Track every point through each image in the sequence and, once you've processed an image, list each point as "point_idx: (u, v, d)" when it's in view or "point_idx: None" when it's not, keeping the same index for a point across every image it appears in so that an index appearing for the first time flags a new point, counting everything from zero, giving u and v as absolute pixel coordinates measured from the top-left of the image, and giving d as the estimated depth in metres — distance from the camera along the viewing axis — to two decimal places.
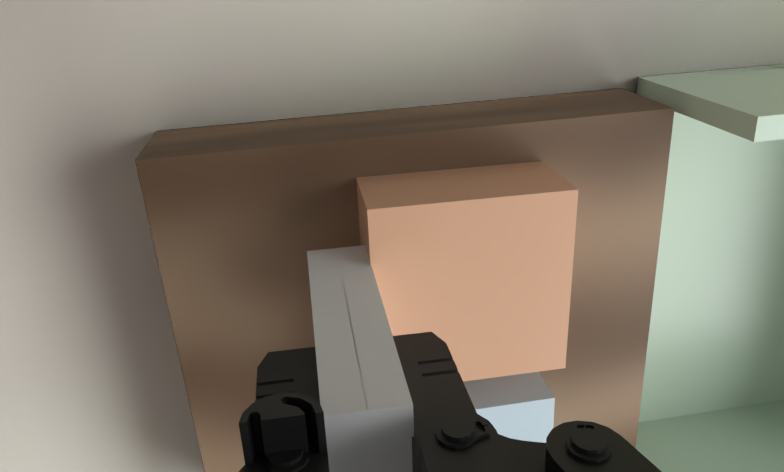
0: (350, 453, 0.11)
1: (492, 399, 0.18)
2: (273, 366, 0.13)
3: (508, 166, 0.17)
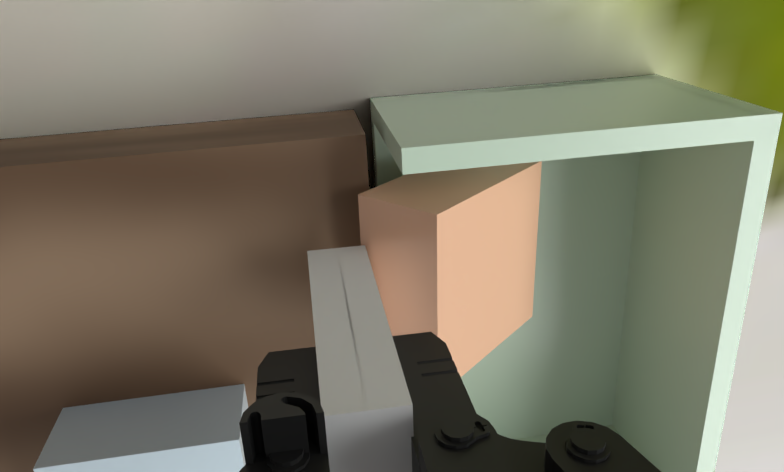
0: (350, 453, 0.11)
1: (174, 441, 0.17)
2: (273, 366, 0.13)
3: None
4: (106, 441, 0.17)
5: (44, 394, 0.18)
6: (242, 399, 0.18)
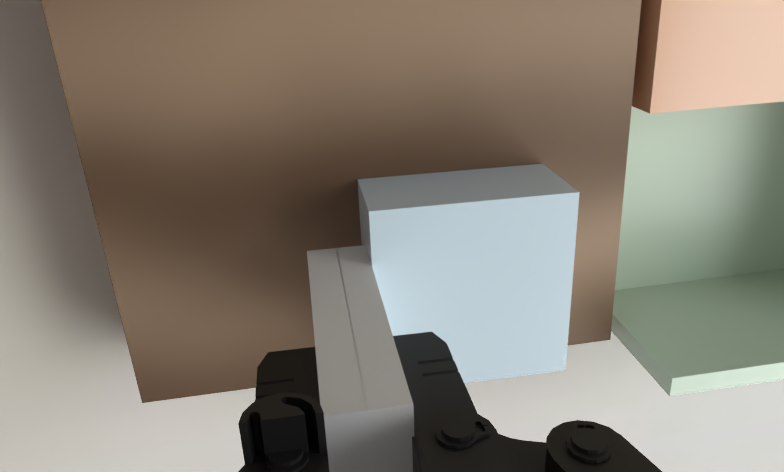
0: (349, 454, 0.11)
1: (507, 194, 0.15)
2: (272, 366, 0.13)
3: None
4: (431, 195, 0.16)
5: (279, 166, 0.16)
6: (551, 172, 0.17)
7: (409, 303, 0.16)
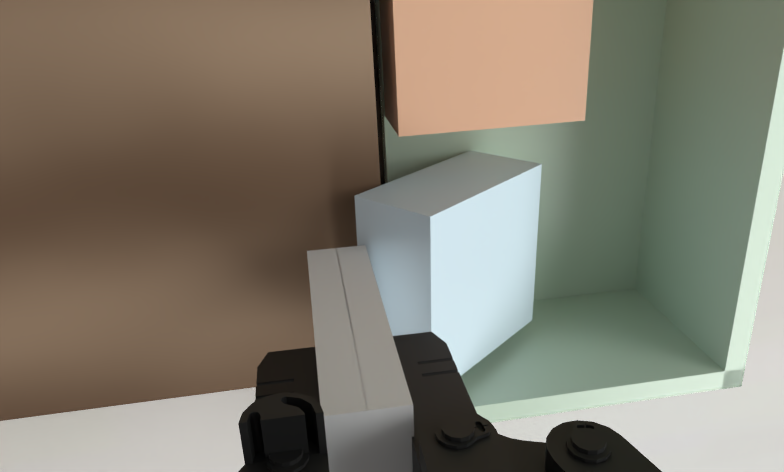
0: (349, 454, 0.11)
1: (499, 176, 0.17)
2: (272, 366, 0.13)
3: None
4: (447, 192, 0.16)
5: None
6: (489, 155, 0.19)
7: (452, 298, 0.16)
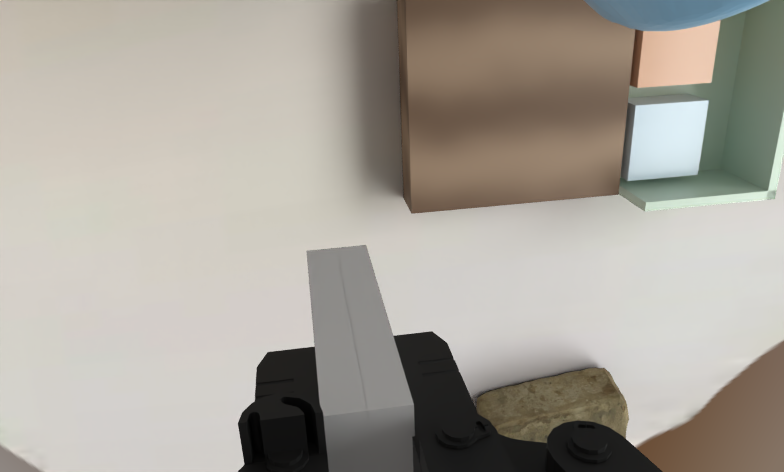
0: (348, 453, 0.11)
1: (682, 101, 0.42)
2: (272, 366, 0.13)
3: None
4: (653, 101, 0.42)
5: (483, 106, 0.40)
6: (693, 95, 0.43)
7: (644, 142, 0.42)
